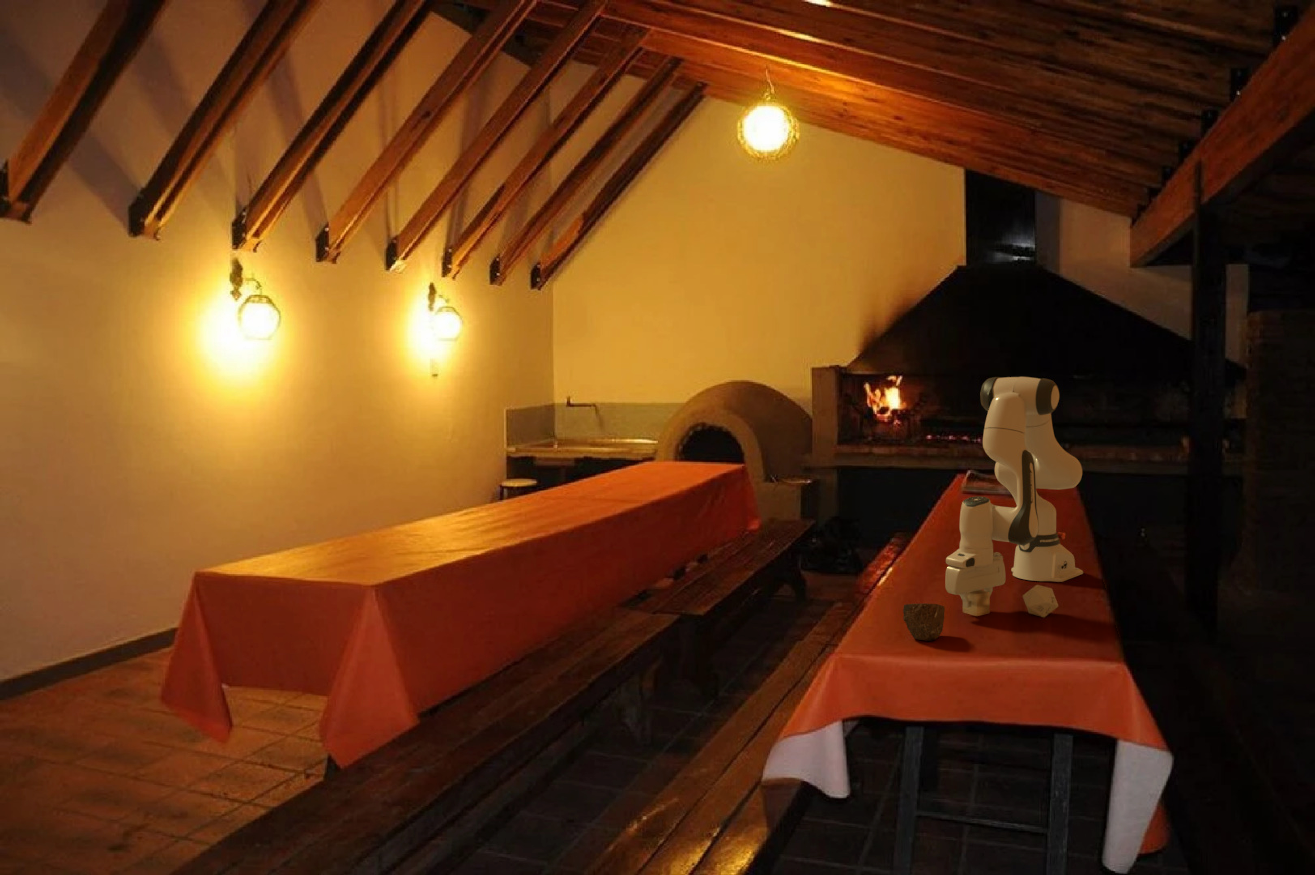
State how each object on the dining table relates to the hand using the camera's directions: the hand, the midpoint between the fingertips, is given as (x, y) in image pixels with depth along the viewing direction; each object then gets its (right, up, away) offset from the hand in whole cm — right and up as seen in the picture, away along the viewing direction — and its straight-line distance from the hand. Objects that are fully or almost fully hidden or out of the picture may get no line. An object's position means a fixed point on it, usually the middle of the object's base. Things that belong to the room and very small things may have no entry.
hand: (976, 605), depth 278 cm
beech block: (0, -2, 0) cm, 2 cm away
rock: (-20, -5, -21) cm, 30 cm away
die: (+16, -2, -4) cm, 17 cm away
